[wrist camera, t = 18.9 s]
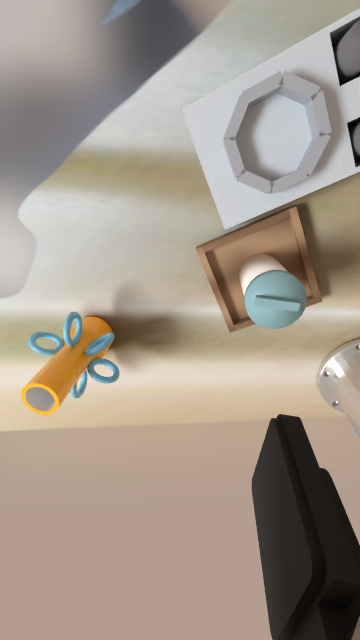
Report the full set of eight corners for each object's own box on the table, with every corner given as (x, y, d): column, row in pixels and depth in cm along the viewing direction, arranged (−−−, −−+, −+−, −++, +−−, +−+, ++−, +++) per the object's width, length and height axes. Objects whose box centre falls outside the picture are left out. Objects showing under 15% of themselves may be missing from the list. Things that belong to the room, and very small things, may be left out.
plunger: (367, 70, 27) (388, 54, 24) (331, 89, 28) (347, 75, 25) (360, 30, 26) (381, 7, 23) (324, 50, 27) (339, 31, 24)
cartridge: (287, 254, 35) (317, 279, 25) (276, 297, 37) (299, 335, 28) (241, 249, 35) (253, 271, 25) (233, 292, 38) (241, 327, 28)
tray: (317, 296, 37) (322, 301, 36) (229, 326, 40) (230, 332, 39) (292, 205, 33) (296, 206, 32) (196, 246, 36) (195, 249, 35)
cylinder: (84, 375, 47) (31, 451, 33) (42, 323, 43) (-35, 383, 30) (147, 345, 43) (116, 416, 29) (106, 285, 40) (51, 335, 26)
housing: (384, 155, 31) (421, 147, 25) (223, 225, 35) (225, 232, 30) (363, 19, 27) (401, -25, 21) (184, 118, 31) (178, 103, 26)
